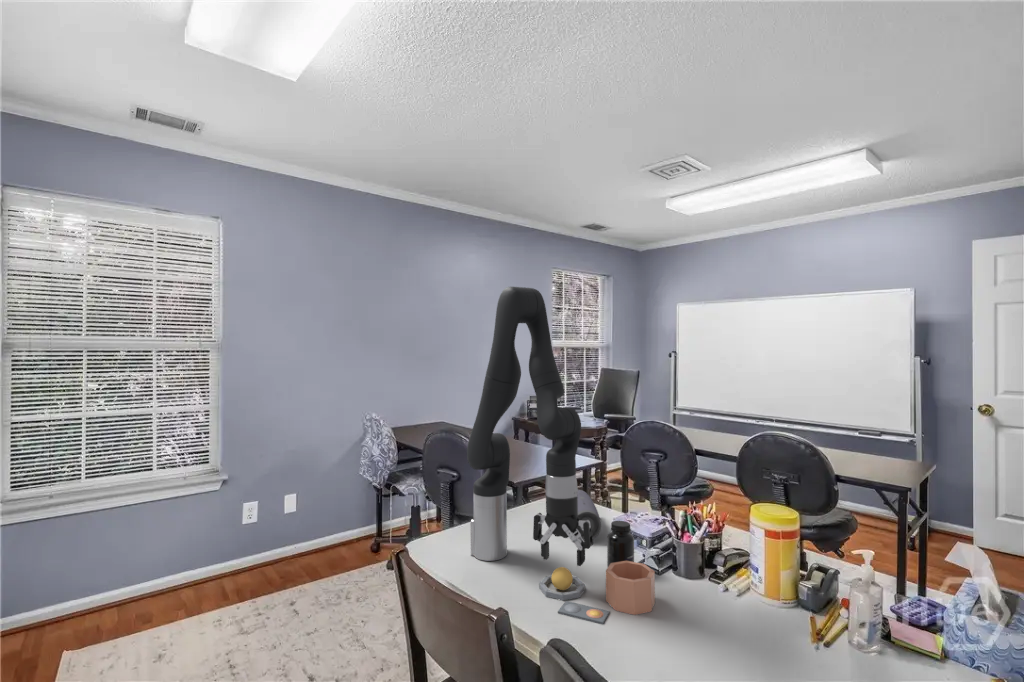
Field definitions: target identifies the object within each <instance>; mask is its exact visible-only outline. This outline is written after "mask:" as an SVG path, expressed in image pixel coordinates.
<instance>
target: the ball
mask: <svg viewBox="0 0 1024 682" xmlns="http://www.w3.org/2000/svg"><path fill="white" fill-rule="evenodd" d="M551 575H552V582H551V583H552V585H553V586H554V588H556V590H559V591H566V590H568V589H570V588H571V586H572V584H573V583H572V581H573V577H572V576H573V574H572V572H571V571H570V570H569V569H568V568H567V567H565V566H564V567H563V566H559V567H557V568H555V569H554V570H553V571H552V574H551Z"/></svg>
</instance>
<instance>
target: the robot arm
mask: <svg viewBox="0 0 1024 682" xmlns="http://www.w3.org/2000/svg"><path fill="white" fill-rule="evenodd" d="M495 312H496V313H495V322H494V331H493V338H492V342H491V343H492V344H491V349H490V353H489V354H490V355H489V359H488V360H489V361H488V362H487V363H488V364H487V367H486V372H485V376H484V380H483V381H484V382H483V386H482V392H481V397H480V402H479V405H478V409H477V414H476V416H475V419H474V423H473V425H472V426H473V427H472V430H471V432H470V435H469V439H468V442H467V448H466V458H467V463H468V465H469V466H470V467H471V468H472V469H474V470H477V471H478V470H479V471H482V470H485V472H484V473H483V474H482V475H481V476H480V477H479V478H477V479H476V480H475V481H474V482H473V490H472V493H473V518H472V519H471V520H470V556H472V557H473V556H474V557H475V558H476V559H478V560H479V561H486V562H487V561H488V562H489V561H493V562H494V561H499V560H501V559H504V558H506V556H507V555H508V524H507V523H508V519H507V517H508V514H507V512H508V506H507V505H508V503H507V500H508V499H507V497H508V496H507V494H508V493H507V492H508V491H507V490H508V489H507V488H508V484H509V481H510V465H511V464H510V463H511V462H510V460H511V449H510V444H509V441H508V439H507V437H506V436H505V434H502V433H500V432H494V430H495V429H496V427H497V424H498V422H499V421H500V420H501V419H502V417H503V416H504V414H505V413H506V412H507V411H508V410H509V408H510V407H511V405H512V404H513V402H514V401H515V399H516V398H517V394H518V391H519V386H520V383H521V377H522V369H521V368H522V367H521V365H520V364H521V363H520V360H519V357H518V354H517V351H516V346H515V344H516V343H515V342H516V335H517V329H518V326H519V324H526V327H527V328H528V330H529V334H530V340H531V346H530V353H529V360H528V372H529V376H530V381H531V385H532V387H533V390H534V393H535V397H536V403H535V404H536V419H537V425H538V429H539V431H540V433H541V435H542V436H543V437H545V438H546V439H547V440H550V441H555V444H554V446H552V447H551V448H550V449H548V451H547V452H546V455H545V461H546V462H545V470H546V471H545V472H546V475H545V512H546V514H545V515H544V514H542V513H541V512H538V513H537V514H535V515H534V516H533V530H532V532H533V533H532V539H533V540H534V541H537V542H539V543H540V555H541V557H542V559H543V561H547V560H548V559H550V541H549V539H550V538H551V537H552V536H554V537H557V538H558V537H562V538H565V539H568V538H569V540H570V541H571V542H572V543H573V544H574V545H575V546H576V548H577V549H576V566H577V567H581V566H582V565H583V564H584V563H585V561H586V550H588V549H591V547H592V546H593V545H594V538H593V536H592V523H591V520H589V519H588V520H587V521H582V520H579V518H578V497H577V493H578V490H579V488H578V481H577V463H576V456H577V452H578V447H579V444H580V438H581V432H582V421H581V417H580V415H579V414H578V412H577V411H576V410H575V409H574V408H571V407H561V408H560V407H559V405H558V400H559V399H560V398H562V397H563V395H564V394H565V388H564V384H563V381H562V377H561V375H560V371H559V370H558V369H559V368H558V366H557V362H556V360H555V356H554V352H553V344H552V340H551V339H552V338H551V333H550V326H549V319H548V314H547V307H546V303H545V299H544V297H543V295H542V292H541V291H539V290H538V289H535V288H533V287H523V286H508V287H505V288H504V289H503V290H502V291H501V293H500V294H499V297H498V301H497V305H496V311H495ZM544 523H545V524H546V525H547V527H548V529H547V530H546V531H545V533H544V534H542V532H543V524H544ZM578 526H581V529H582V530H583V531H584V539H582V537H581V534H580V533H579V531H578V530H577V528H578Z"/></svg>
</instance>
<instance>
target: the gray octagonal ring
mask: <svg viewBox="0 0 1024 682" xmlns="http://www.w3.org/2000/svg"><path fill="white" fill-rule="evenodd" d="M572 577H573V581H572V584H575V585H576V587H577V588H576V589H575V590H572V591H571V590H570V591H566V592H560V591H556V590H551V589H549V588H548V587H547V586H548V585H549V584H550V583H552V574H551V575H545V577H544V578H543V579H542V580H541V581H540V582H539V583H538V585H539V586H538V587H539V590H540V591H541V592H542V594H543V593H544V594H543V595H544V596H545V597H546V598H550V597H552V598H551V599H554V598H556V599H555V600H558V599H560V601H568V600H567V599H569V600H572V599H571V598H574V599H579V598H581V596H582V595H583V593H584V592H585V591H586V584H585V583H584V582H583V581H582V580H581V579H580V578H579V577H578V576H575V575H572ZM549 582H550V583H549ZM546 585H547V586H546Z"/></svg>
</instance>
